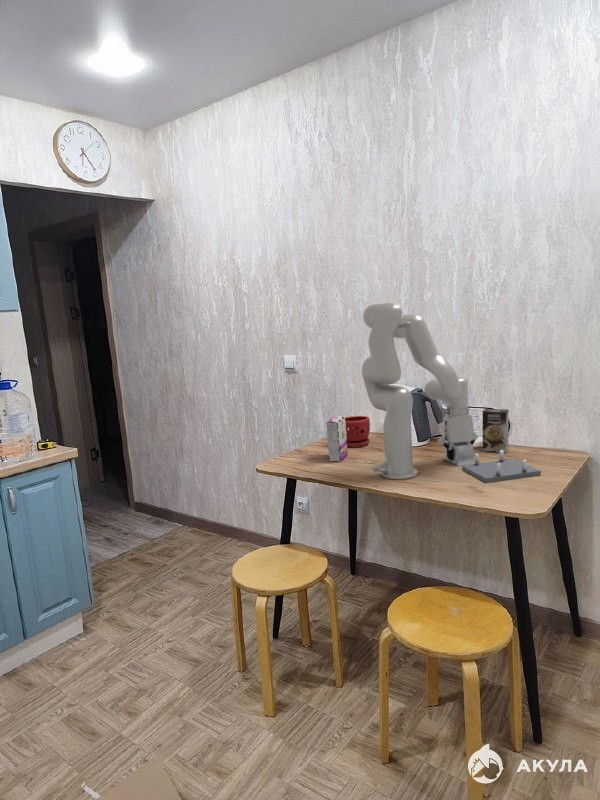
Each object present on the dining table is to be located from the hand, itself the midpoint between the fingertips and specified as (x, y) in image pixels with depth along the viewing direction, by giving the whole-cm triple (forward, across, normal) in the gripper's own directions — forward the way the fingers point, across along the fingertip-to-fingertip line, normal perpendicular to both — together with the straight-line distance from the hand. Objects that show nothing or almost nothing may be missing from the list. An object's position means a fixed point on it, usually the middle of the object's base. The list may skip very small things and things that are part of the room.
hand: (458, 458), depth 204 cm
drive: (+1, 0, 0) cm, 1 cm away
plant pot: (+1, -27, +42) cm, 50 cm away
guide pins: (0, +6, -18) cm, 19 cm away
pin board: (+1, +6, -18) cm, 19 cm away
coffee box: (+1, +20, +8) cm, 22 cm away
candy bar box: (+1, -40, +24) cm, 47 cm away
